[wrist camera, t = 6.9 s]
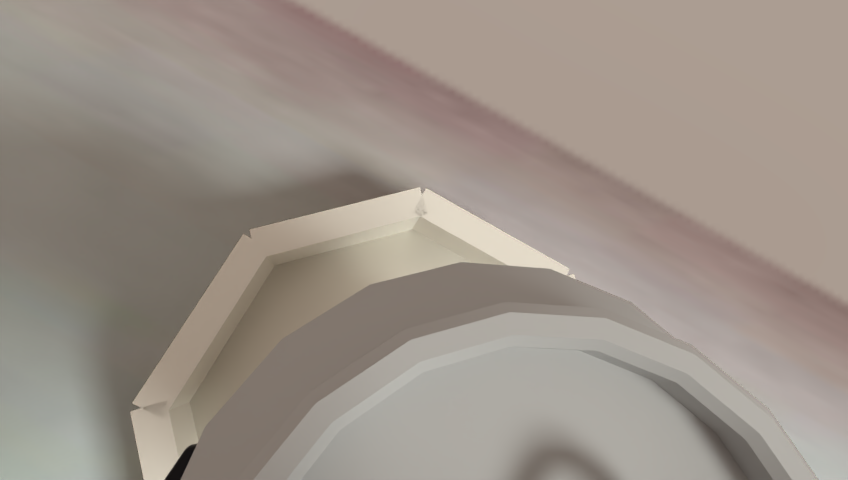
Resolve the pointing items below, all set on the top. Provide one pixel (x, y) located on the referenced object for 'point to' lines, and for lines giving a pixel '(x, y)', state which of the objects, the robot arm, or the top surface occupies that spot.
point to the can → (490, 392)
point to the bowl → (299, 300)
